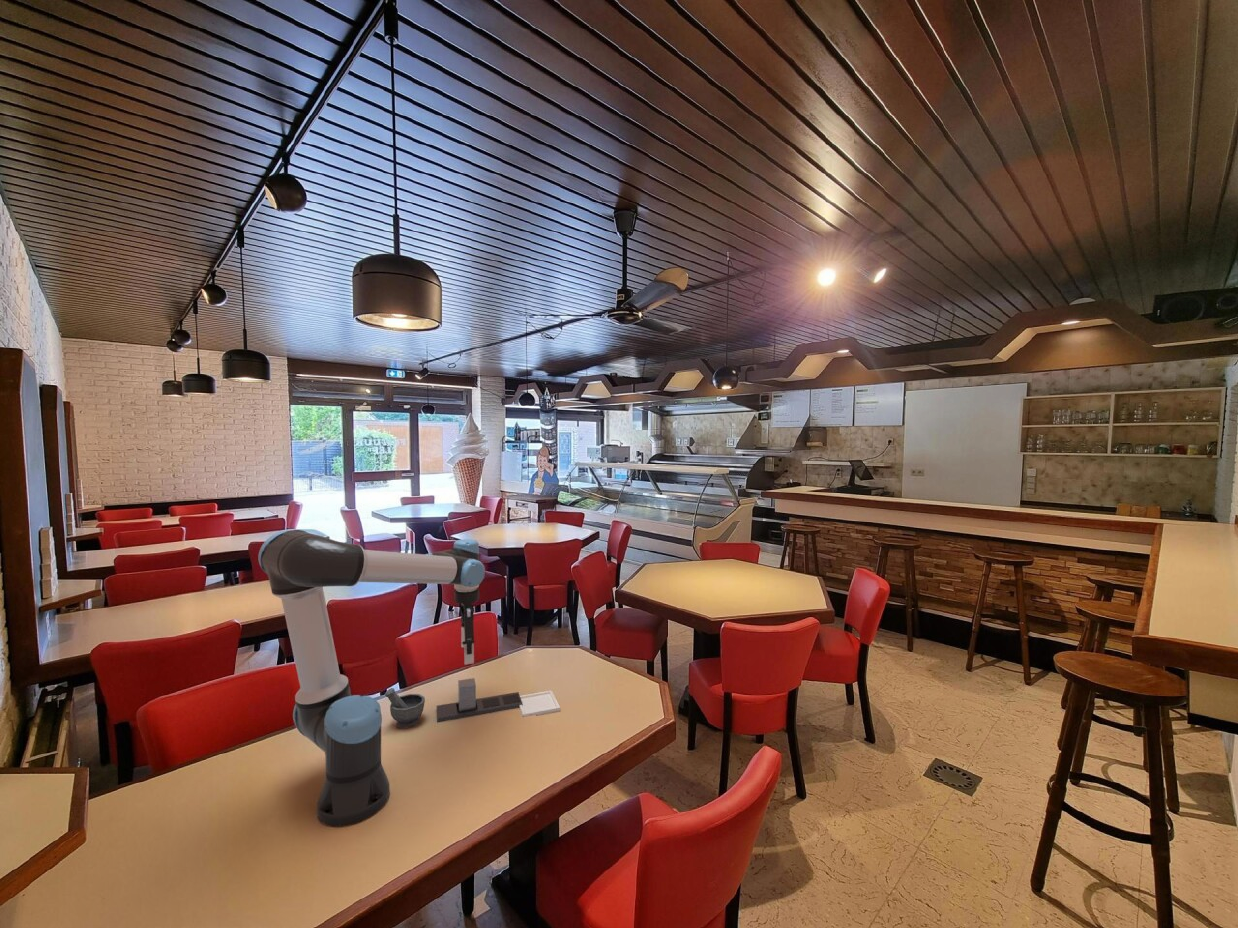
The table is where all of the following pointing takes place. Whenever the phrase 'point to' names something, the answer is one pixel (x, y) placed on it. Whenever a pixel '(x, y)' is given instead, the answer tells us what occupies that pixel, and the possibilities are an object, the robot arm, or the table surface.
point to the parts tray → (539, 704)
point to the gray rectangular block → (466, 695)
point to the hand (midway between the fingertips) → (467, 654)
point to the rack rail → (480, 707)
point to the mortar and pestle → (405, 708)
